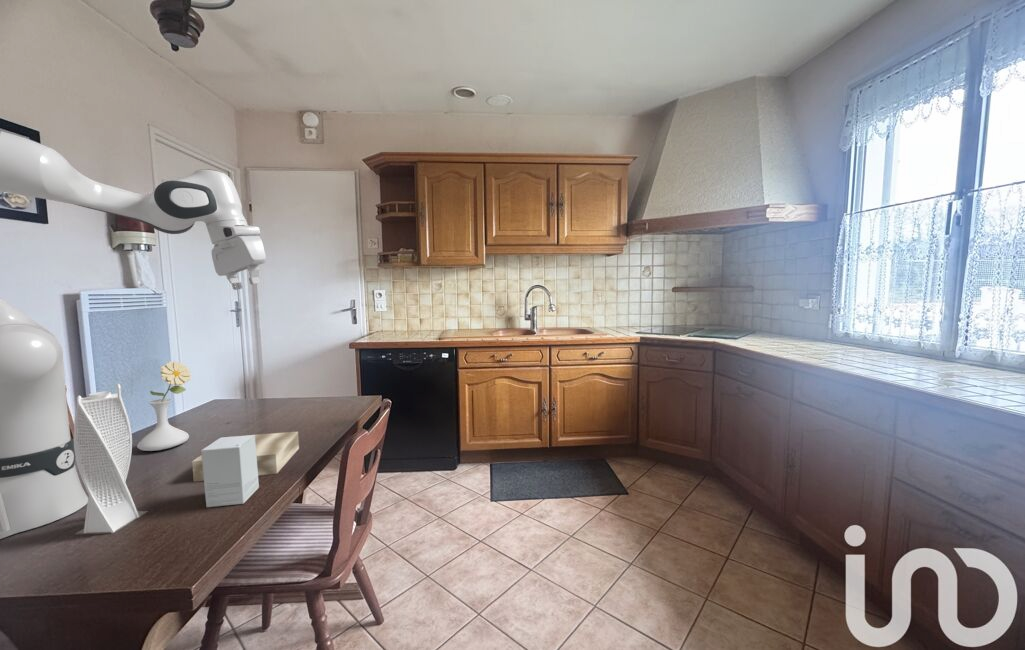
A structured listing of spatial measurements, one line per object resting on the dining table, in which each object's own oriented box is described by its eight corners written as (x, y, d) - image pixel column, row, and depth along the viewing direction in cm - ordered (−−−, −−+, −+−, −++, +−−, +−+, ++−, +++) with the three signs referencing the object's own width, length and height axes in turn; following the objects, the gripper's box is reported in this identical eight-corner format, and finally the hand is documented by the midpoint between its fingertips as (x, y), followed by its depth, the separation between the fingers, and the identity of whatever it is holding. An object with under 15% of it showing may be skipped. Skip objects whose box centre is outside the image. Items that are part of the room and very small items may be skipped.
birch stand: (193, 481, 91) (192, 461, 90) (228, 454, 106) (227, 436, 106) (276, 473, 94) (275, 454, 94) (299, 448, 110) (298, 431, 110)
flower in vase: (145, 458, 104) (137, 368, 102) (131, 449, 110) (123, 364, 108) (203, 442, 115) (196, 360, 113) (187, 435, 121) (181, 357, 119)
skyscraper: (155, 512, 78) (143, 379, 76) (115, 538, 70) (101, 389, 68) (112, 514, 78) (99, 380, 76) (68, 539, 70) (51, 390, 68)
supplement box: (260, 487, 88) (256, 434, 87) (243, 504, 81) (239, 447, 80) (224, 490, 87) (220, 436, 86) (204, 508, 79) (199, 449, 78)
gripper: (199, 244, 103) (215, 294, 105) (235, 226, 92) (253, 282, 94) (225, 242, 108) (240, 290, 110) (262, 226, 98) (278, 279, 100)
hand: (246, 286), depth 102 cm, fingers open, 8 cm apart
